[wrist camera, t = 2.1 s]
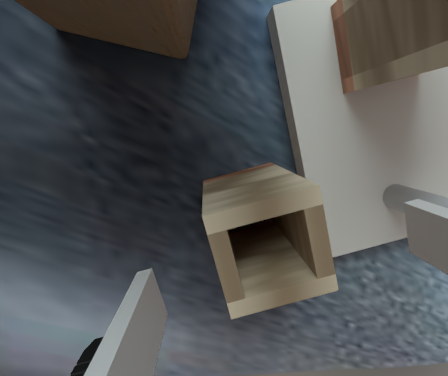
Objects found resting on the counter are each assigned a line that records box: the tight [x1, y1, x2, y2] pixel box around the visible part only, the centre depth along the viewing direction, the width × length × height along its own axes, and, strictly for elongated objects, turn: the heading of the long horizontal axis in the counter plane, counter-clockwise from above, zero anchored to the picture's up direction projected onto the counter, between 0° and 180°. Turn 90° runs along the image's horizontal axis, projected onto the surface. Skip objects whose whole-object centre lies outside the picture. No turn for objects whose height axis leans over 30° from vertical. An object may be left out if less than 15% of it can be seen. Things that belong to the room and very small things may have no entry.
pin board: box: [266, 0, 448, 257], centre depth 18 cm, size 14×20×11 cm
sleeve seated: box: [330, 0, 448, 94], centre depth 15 cm, size 6×6×10 cm
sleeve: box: [202, 163, 338, 319], centre depth 19 cm, size 6×6×10 cm
